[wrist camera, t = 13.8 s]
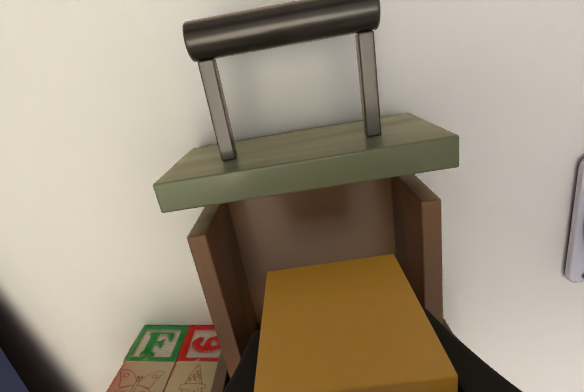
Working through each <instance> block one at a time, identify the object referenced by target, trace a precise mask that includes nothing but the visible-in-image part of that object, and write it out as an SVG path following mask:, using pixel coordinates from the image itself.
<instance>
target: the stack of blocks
mask: <svg viewBox="0 0 584 392" xmlns="http://www.w3.org/2000/svg"><path fill="white" fill-rule="evenodd" d="M220 351H221V347H220V344H219V341H218V338H217V334H216V331H215V328H214V326H190V327H186V326H144V327H143V328H142V330H141V332H140V333H139V335H138V337H137V338H136V340H135V341H134V343H133V345H132V346H131V348H130V350H129V352H128V354H127V355H126V357H125V358H124V361H123V365H122V366H121V368H120V370H119V372H118V373H117V375H116V377H115V378H114V380H113V382H112V383H111V385H110V387H109V388H108V390H107V392H211V388H212V384H213V380H214V376H215V372H216V368H217V363H218V359H219V355H220Z"/></svg>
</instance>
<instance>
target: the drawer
mask: <svg viewBox="0 0 584 392" xmlns="http://www.w3.org/2000/svg"><path fill="white" fill-rule="evenodd" d="M379 22H380V0H299V1H294V2H289V3H283V4H278V5H273V6H267V7H262V8H256V9H251V10H246V11H240V12H235V13H230V14H224V15H219V16H214V17H208V18H203V19H198V20H192V21H187V22H185V23H184V24H183V37H184V42H185V45H186V49H187V51H188V54H189V56H190V57H191V59H192V60H193V61H194V62H198V66H199V70H200V74H201V78H202V82H203V86H204V90H205V94H206V98H207V102H208V106H209V111H210V115H211V119H212V123H213V127H214V131H215V135H216V139H217V143H218V144H217V145H211V146H205V147H199V148H193V149H192V150H191V151H190V152H189V153H188V154H186V155H185V156H184V157H183V158H182V159H181V160H180V161H179V162H178V163H176V164H175V165H174V166H173V167H172V168H171V169H170V170H169V171H168V172H166V173H165V174H164V175H163V176H162V177H161V178H160V179H159V180H158V181H156V182H155V183H154V184H153V187H154V190H155V193H156V196H157V199H158V203H159V206H160V209H161V212H162V213H165V212H172V211H178V210H185V209H191V208H197V207H204V206H205V208H204V210H203V211H202V213H201V215H200V216H199V218H198V220H197V221H196V223H195V225H194V227H193V228H192V230H191V232H190V233H189V235H188V237H187V239H188V243H189V246H190V249H191V253H192V256H193V259H194V262H195V266H196V269H197V272H198V275H199V279H200V282H201V285H202V289H203V292H204V295H205V298H206V302H207V305H208V308H209V311H210V315H211V318H212V321H213V325H214V328H215V331H216V334H217V338H218V341H219V344H220V347H221V351H222V354H223V357H224V360H225V364H226V367H227V370H228V374H229V377H230V379H231V377H232V375H233V373H234V371H235V369H236V368H237V366H238V364H239V362H240V360H241V358H242V356H243V353H244V351H245V349H246V347H247V345H248V343H249V340H250V338H251V336H252V334H253V333H254V331H259V330H261V323H262V314H263V305H264V296H265V287H266V278H267V272H269V271H276V270H283V269H290V268H298V267H305V266H312V265H319V264H326V263H333V262H340V261H347V260H354V259H361V258H368V257H375V256H382V255H389V254H394V256H395V258H396V259H397V261H398V263H399V265H400V267H401V269H402V271H403V273H404V275H405V276H406V278H407V280H408V282H409V284H410V286H411V288H412V290H413V292H414V293H415V295H416V297H417V299H418V301H419V303H420V305H421V307H422V309H425V308H426V309H427V310H429V311H430V312H431V313H432V314H433V315H434V316H435V317H436V318H437V319H438V320H439V321H440V322H441V323H442V324H443V299H442V232H441V199H440V198H439V197H438V196H437V195H436V194H435V193H434V192H432V191H431V190H430V189H429V188H428V187H427V186H426V185H425V184H424V183H423V182H422V181H421V180H420V179H419V178H417V177H416V176H415V175H414V174H416V173H423V172H429V171H435V170H442V169H448V168H455V167H458V166H459V136H458V135H456V134H454V133H452V132H450V131H447V130H445V129H443V128H441V127H439V126H436V125H434V124H432V123H430V122H428V121H425V120H423V119H421V118H419V117H417V116H414V115H412V114H410V113H405V114H399V115H393V116H387V117H381V118H380V109H379V95H378V82H377V68H376V55H375V42H374V32H373V31H372V30H376V29H377V28H378V26H379ZM355 33H357V34H356V35H355V38H356V49H357V60H358V70H359V81H360V92H361V103H362V114H363V120H362V121H356V122H350V123H344V124H338V125H332V126H326V127H320V128H314V129H308V130H302V131H296V132H290V133H284V134H278V135H272V136H266V137H260V138H254V139H248V140H242V141H235V142H234V137H233V133H232V128H231V124H230V120H229V115H228V111H227V106H226V102H225V98H224V93H223V89H222V84H221V80H220V76H219V71H218V67H217V62H216V60H215V59H216V58H221V57H227V56H233V55H238V54H244V53H249V52H255V51H260V50H266V49H272V48H277V47H283V46H288V45H294V44H299V43H305V42H310V41H316V40H322V39H327V38H333V37H338V36H344V35H349V34H355Z"/></svg>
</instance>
